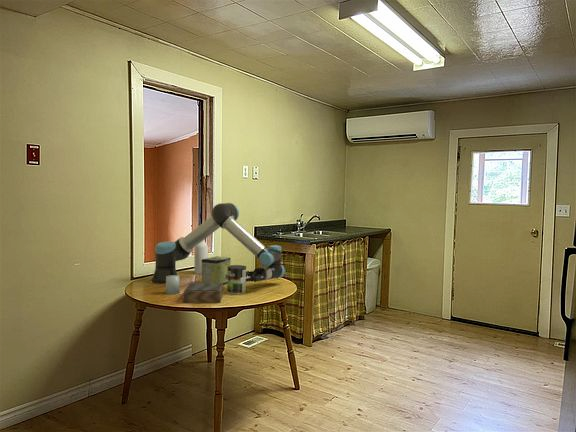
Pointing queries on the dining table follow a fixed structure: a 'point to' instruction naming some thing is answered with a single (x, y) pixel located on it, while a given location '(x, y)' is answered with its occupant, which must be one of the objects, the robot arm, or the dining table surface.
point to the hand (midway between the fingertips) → (232, 278)
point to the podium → (203, 293)
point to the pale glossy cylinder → (172, 284)
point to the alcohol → (200, 256)
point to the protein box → (215, 270)
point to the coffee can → (236, 279)
